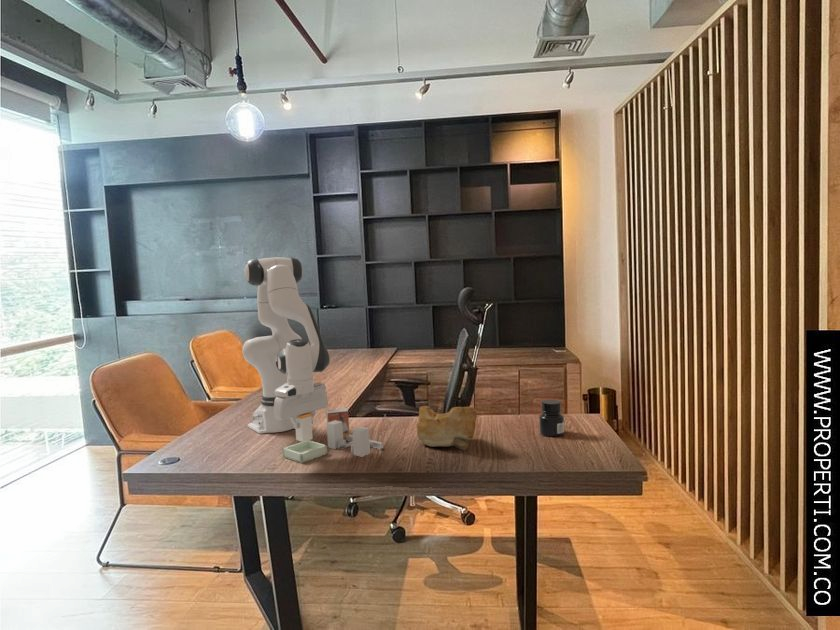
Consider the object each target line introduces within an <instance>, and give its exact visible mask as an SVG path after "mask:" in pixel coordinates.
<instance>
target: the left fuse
mask: <svg viewBox="0 0 840 630" xmlns="http://www.w3.org/2000/svg"><path fill="white" fill-rule="evenodd" d="M326 439H327V448H329V449H332V448H333V450H337V449H338V441H340V440H342V439H344V438H343V426H342V422H341V421H336V420H334V421H331V422H328V423H327V422H326ZM336 448H337V449H336Z"/></svg>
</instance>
